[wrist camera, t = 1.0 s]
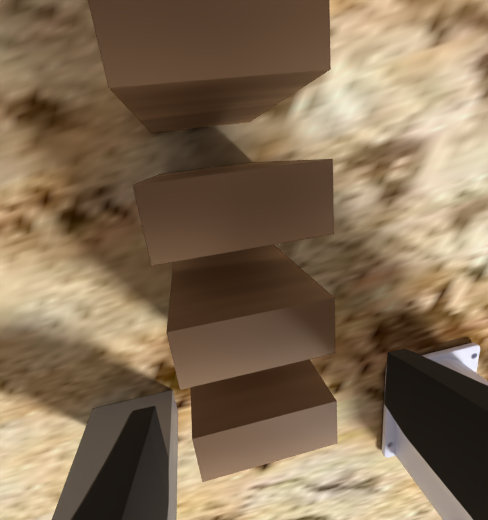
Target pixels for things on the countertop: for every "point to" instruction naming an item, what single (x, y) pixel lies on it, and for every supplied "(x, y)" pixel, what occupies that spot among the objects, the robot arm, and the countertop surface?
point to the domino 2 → (209, 56)
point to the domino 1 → (102, 440)
